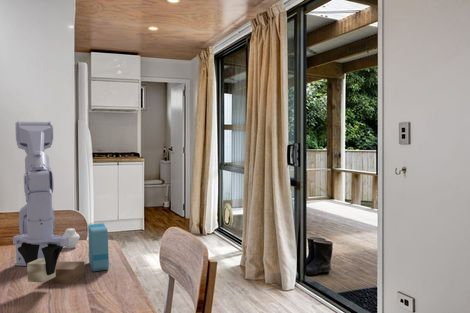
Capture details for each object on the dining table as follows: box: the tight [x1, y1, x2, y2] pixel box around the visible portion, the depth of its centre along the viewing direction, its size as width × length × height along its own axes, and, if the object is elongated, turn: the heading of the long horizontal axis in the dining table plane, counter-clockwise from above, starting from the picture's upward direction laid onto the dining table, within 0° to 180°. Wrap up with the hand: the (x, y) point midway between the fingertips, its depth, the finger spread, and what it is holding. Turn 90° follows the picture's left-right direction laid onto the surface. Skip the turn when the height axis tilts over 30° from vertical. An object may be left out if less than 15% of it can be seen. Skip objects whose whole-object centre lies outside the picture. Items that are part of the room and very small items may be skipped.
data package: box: [87, 222, 110, 272], centre depth 122 cm, size 12×4×12 cm, turn 24°
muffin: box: [62, 227, 81, 249], centre depth 146 cm, size 6×6×7 cm
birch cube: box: [26, 258, 56, 284], centre depth 102 cm, size 4×4×4 cm
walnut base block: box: [43, 261, 86, 284], centre depth 111 cm, size 8×7×4 cm
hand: (41, 273), depth 102 cm, fingers closed on birch cube, 4 cm apart
